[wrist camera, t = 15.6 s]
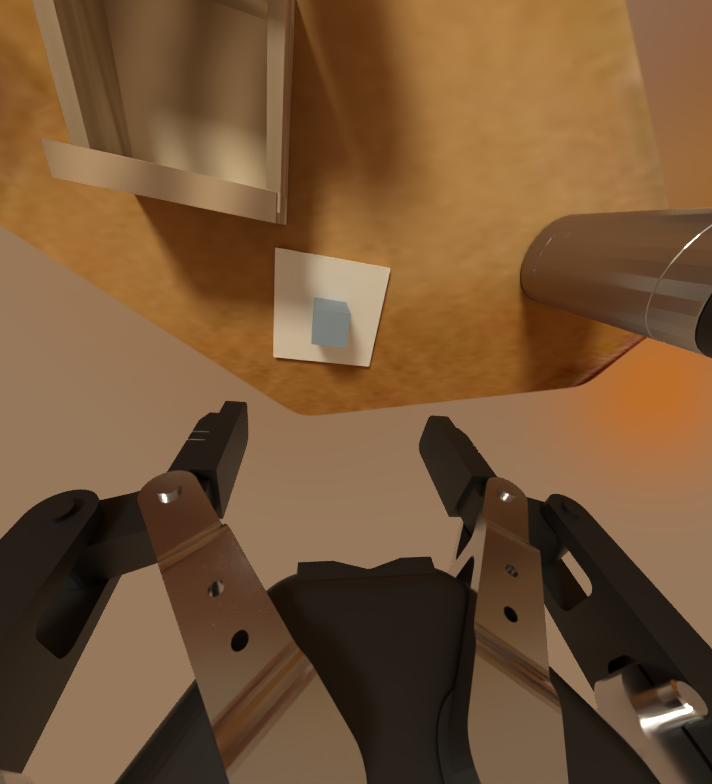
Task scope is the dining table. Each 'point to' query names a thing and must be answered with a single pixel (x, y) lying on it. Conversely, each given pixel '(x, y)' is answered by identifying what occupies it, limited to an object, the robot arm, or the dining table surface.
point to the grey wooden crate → (175, 99)
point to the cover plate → (329, 285)
